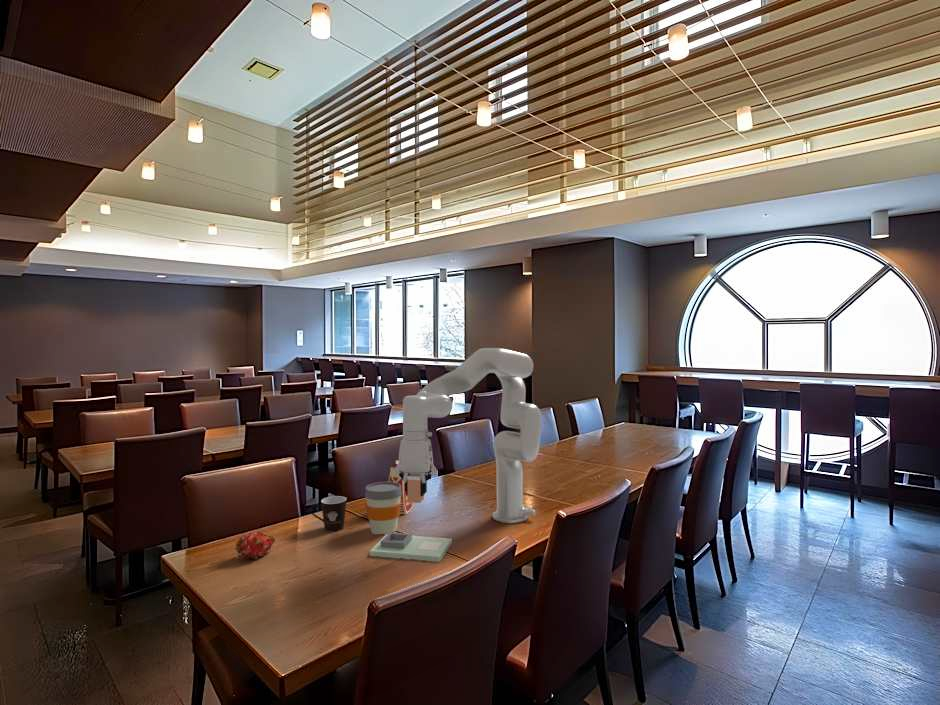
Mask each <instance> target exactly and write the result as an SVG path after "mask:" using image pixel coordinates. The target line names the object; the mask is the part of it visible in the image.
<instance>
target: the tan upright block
mask: <svg viewBox="0 0 940 705" xmlns="http://www.w3.org/2000/svg"><path fill="white" fill-rule="evenodd" d="M407 480H408V502H412V503H414V504H415V503H416V504H421V503H422V502H423V501H424V500H425V494H424V495H423V496H421V483H422V479H421V474H420V473H410V475H408V476H407Z"/></svg>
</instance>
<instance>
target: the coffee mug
mask: <svg viewBox="0 0 940 705" xmlns="http://www.w3.org/2000/svg"><path fill="white" fill-rule="evenodd" d="M347 501H348V500H347V497H345V496H341V495H340V496H339V495H333V496H327V497H324V498H322V499H321V501H320V502H321V503H320V504H319V503H315V504H313V505H311V506H310V509H309V512H310V513H311V515H312V516H313V517H314V518H316V519H317V520H318V519H319V520H320V521H322V522H323V527H324V531H325V530H326V532H328V531H329V532H330V531H333V532H332V533H335V531H336V532H340V531H342V530H344V528H345V518H346V509H347ZM314 507H319V508H320V510H321V511H322V517H320V516H318V515H317V514H315V513H314V512H313V508H314ZM339 530H340V531H339ZM329 532H328V533H329ZM330 533H331V532H330Z"/></svg>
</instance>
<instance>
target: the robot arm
mask: <svg viewBox="0 0 940 705" xmlns="http://www.w3.org/2000/svg"><path fill="white" fill-rule="evenodd" d="M533 371H534V362H533V359H532V358H531V357H530V356H529V355H528V354H526V353H523V352H522V353H521V352H518V351H515V350H511V349H506V348H501V347H484V348H478V350H476V351H475V352H473V353H472V354H471V355H470V356H469V357H468V358H466V359H465V360H464V361H463V362H462V363H461V364H459V365H458V366H457V367H456V368H455V369H454V370H451V371H449V372H447V373H444V374H443V375H442V376H441V375H440V376H439V377H437V378H435V379H433V380H431V381H430V382H429V383H428V384H426V385H425V386H424V387H423V388H421V389H420V390H419V391H418V392H417V393H416V394H415V395H406V396H405V397H403V400H402V439H401V440H400V444H399V451H398V461H399V463H398V464H397V466H396V467H395V469H394V472H395V473H396V474H398V475H399V476H400V477H401V478H402V479H403V482H405V492H406V495H408V480H407V476H408V475H410V474H411V473H420V474H421V479H422V483H421V496H423V495H424V496H425V495H426V493H427V491H428V490H427V489H428V485H427V484H428V481H429V480H430V479H431V478H432V477H433V476H435V475H437V474H438V469H437V468H436V466H435V465H434V459H433V458H434V457H433V448H432V442H431V439H429V438H430V437H432V436H433V432H432V431H431V432H430V431H429V429H428V419H429V418H434V419H435V418H436V419H437V418H439V419H441V418H445V417H447V416H448V415H449V414H450V413H452V409H453V402H452V400H451V398H450V397H449V396H451V395H455V394H461V393H464V392H468V391H470V390H471V389H473V388H474V387H475V386H476V385H477V384H478V383H480V382H481V381H482V380H483V379H484V378H485V377H486V376H487V375H488V374H490V373H491V374H495V375H496V377H497V378H498V380H499V381H500V384H501V388H502V394H501V395H502V397H501V404H500V406H501V407H500V422H501V424H502V425H503V426H505V427H507V428H512V429H516V430H520V432H517V431H510V430H503V431H500V432H498V433H497V434H496V435H495V437H494V439H493V443H492V444H493V451H494V452H493V453H494V458H495V464H496V465H495V466H496V511H494V512H492V518H493V520H495V521H497V522H499V523H504V524H518V522H519V523H523V522H525V521H526V520H527V519H528V516H529V515H530V516H535V515H536V510H535V509H533V507H526V506H525V503H523V502H524V498H523V497H524V494H523V490H524V489H523V480H524V479H523V476H524V475H523V465H522V462H527V463H529V462H532V461H533V462H534V460H536V458H537V456H538V455H539V450H540V444H541V434H542V425H543V424H542V420H543V417H542V413H541V410H540V408H539V407H538V405H535V404H533V403H527V402H526V389H527V388H526V384H525V382H524V380H523V379H526V378H528V377H530V376H531V374H532V372H533ZM430 471H431V472H430Z"/></svg>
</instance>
